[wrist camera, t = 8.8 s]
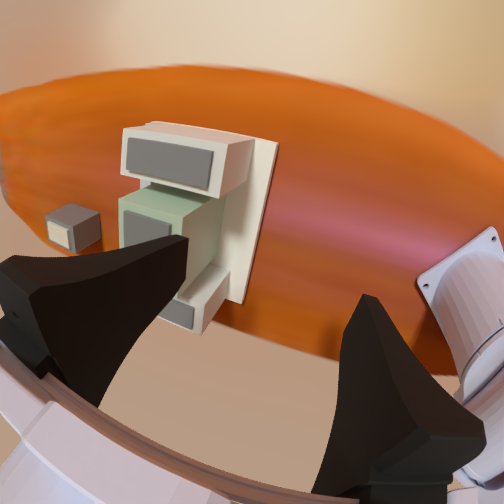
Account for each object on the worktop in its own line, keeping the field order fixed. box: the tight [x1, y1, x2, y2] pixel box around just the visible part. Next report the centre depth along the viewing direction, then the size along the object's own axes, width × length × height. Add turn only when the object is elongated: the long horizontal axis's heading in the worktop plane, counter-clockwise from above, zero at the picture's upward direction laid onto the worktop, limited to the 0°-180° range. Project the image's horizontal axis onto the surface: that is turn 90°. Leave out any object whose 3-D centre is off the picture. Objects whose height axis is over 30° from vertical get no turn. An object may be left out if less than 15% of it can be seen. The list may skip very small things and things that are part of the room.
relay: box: [45, 203, 101, 254], centre depth 25 cm, size 5×3×4 cm, turn 79°
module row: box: [120, 121, 279, 335], centre depth 20 cm, size 10×14×6 cm
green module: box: [119, 183, 227, 299], centre depth 19 cm, size 4×6×7 cm
